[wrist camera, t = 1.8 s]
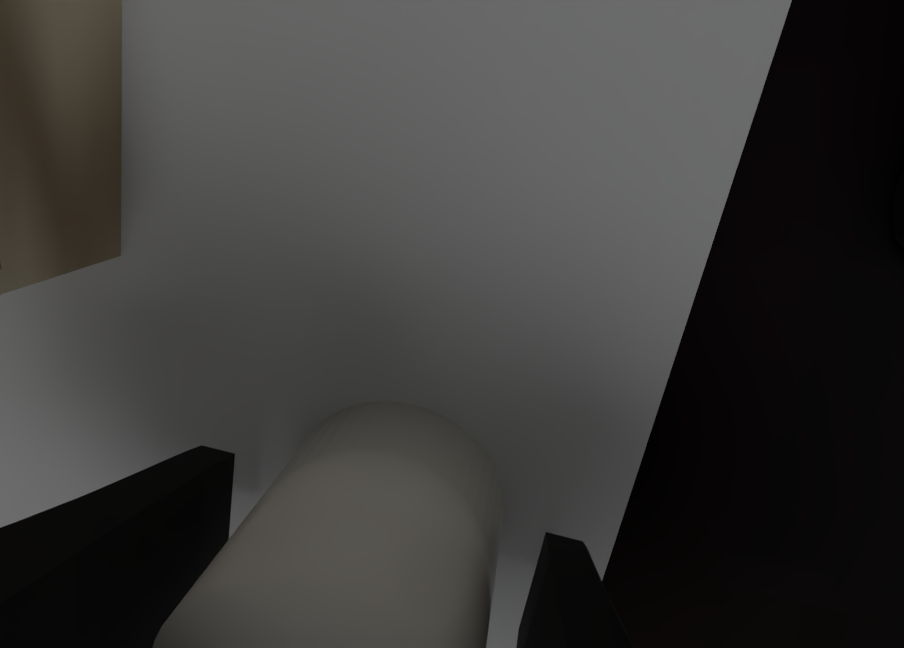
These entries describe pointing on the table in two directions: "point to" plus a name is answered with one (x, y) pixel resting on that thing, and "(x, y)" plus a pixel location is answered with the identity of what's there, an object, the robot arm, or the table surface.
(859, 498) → the table surface
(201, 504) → the robot arm
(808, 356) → the table surface
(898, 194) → the camera
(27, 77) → the slab bottom
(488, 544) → the cylinder
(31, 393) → the mat
